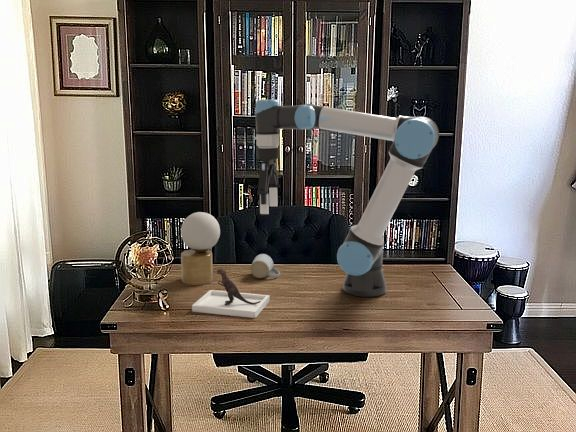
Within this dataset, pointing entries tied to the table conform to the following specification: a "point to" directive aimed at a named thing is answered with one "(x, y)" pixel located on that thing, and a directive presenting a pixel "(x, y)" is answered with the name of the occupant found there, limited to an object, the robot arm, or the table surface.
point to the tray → (216, 304)
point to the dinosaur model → (231, 288)
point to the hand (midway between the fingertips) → (269, 210)
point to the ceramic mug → (263, 267)
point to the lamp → (198, 248)
